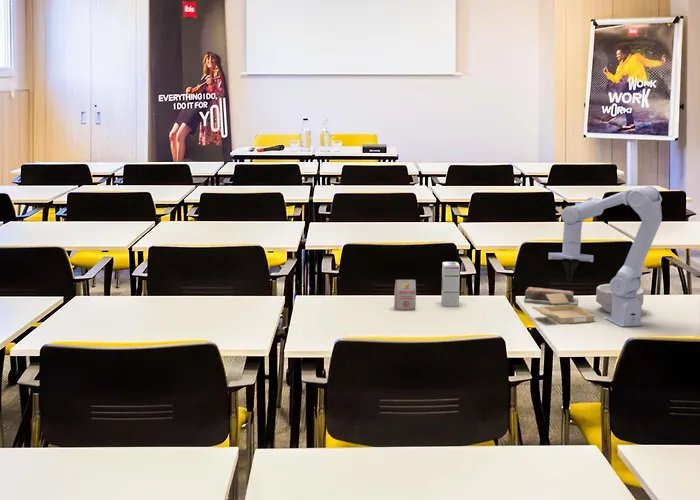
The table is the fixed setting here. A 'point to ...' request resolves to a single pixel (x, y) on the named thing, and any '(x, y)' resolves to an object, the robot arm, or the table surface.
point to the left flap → (545, 311)
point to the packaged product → (539, 297)
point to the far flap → (557, 298)
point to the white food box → (405, 295)
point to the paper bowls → (606, 296)
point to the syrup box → (450, 283)
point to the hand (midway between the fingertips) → (569, 281)
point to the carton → (569, 314)
